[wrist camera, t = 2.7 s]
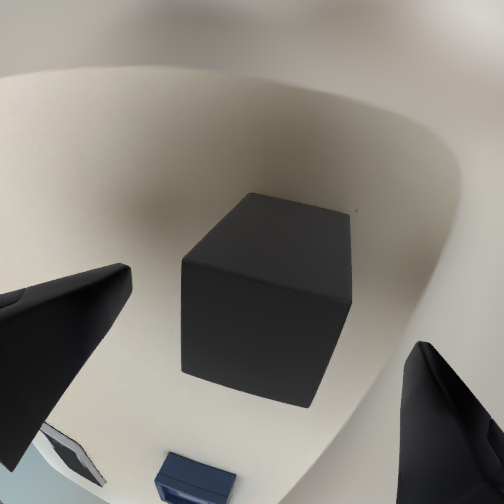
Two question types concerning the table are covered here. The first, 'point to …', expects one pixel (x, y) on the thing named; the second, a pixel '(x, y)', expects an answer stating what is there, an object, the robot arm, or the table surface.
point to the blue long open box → (192, 482)
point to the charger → (267, 298)
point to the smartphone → (72, 455)
